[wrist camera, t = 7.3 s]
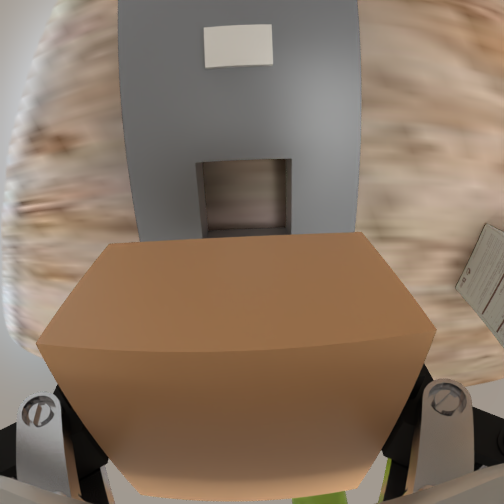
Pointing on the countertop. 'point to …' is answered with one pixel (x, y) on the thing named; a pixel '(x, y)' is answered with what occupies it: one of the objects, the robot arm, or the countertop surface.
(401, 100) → the countertop surface
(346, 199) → the socket
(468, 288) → the supplement box
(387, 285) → the plug
